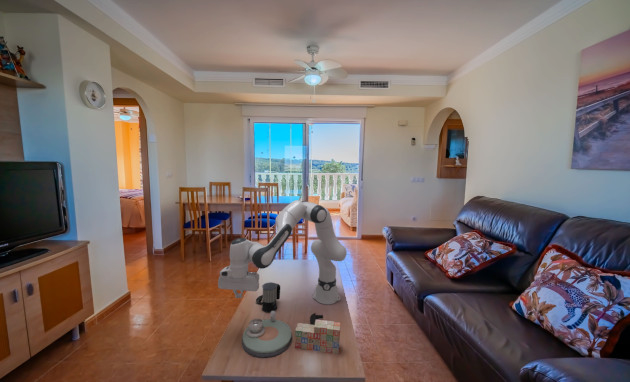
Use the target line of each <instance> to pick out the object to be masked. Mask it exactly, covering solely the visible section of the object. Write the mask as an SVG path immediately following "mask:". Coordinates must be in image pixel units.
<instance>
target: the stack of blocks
mask: <svg viewBox="0 0 630 382" xmlns="http://www.w3.org/2000/svg"><path fill="white" fill-rule="evenodd" d="M294 334H295V335H294V337H295V339H294V348H295V349H301V350H307V351H312V352H314V351H315V352H320V353H321V352H322V353H327V354H334V355H339V354H340V353H339V351H340V338H341V322H339V321H338V322H337V321H333V320H326V319H325V320H323V319H318V320H316V321H315V325H310V323H301V322H297V324H296V328H295V333H294Z"/></svg>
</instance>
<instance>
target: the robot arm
mask: <svg viewBox="0 0 630 382" xmlns="http://www.w3.org/2000/svg"><path fill="white" fill-rule="evenodd" d="M301 219H302V220H304V221H308V222H311V223H313V224H314V227H315V231H316V237H317V238H318V239H314V241H313V242H312V243H311V245H310V250H311V252H312V254H313V255H314V257H315V258H316V261H317V264H318V278H317V284H316V285H315V292H314V294H313V295H312V297H311V298H312V299H313V300H315V301H316V302H318V303H320V304H323V305H333V304H335V303H337V302H339V301H341V300H342V299H341V296H340V293H339V287H338V286H337V278H336V276H337V268H336V265H335V264H334V263H333V262H342V261H344V260H345V259H346V257H347V255H348V253H347V249H346V247H345V246H344V245H343V244H342V243H341V242H340V241H339V239H338V237H337V236H336V233H335V231H334V230H335V229H334V226H333V220H332V216H331V213H330V210H329V209H328V208H327V207H324V206H322V205H321V204H317V203H315V202H310V201H306V200H303V201H301V200H298V199H296V200H293V201H292V202H290V203H289V204H288V205H286V206H285V207H284V208H283V209H282V210H281V211H280V212H279V213H278V214H277V216H276V217H275V226H276V228H277V231H276V233H275V235H274V236H273V238H272V239H271V240H270V241H269V242H268V244H267V245H264V244H262V243H260V242H257V241H251V240H249V239H247V238H245V237H239V238H235V239H233V240H232V241H231V243H230V248H229V260H230V261H229V265H228V266H225V267H223V268H222V269H221V270H220V272H219V276H218V280H217V288H219V289H220V290H232V292H233V293H234V295H235V296H234V298H235V299H242V298H243V293H244V292H257V291H258V290H259V289H260V275H259V273H258V272H257V271H249V263H252V264H253V265H254V266H255V267H256V268H258V269H266V268H269V266H271V265H272V264H273V261H274V260H275V257H276V255H277V254H278V252H279V251H280V250H281V248H282V247H283V245H284V244H285V243H286V242H287V241H288V239H289V238H290V236H291V234H292V233H293V229H294V228H295V226H296V225H297V224H298V223H299V222H300V221H301ZM332 261H333V262H332ZM238 291H239V292H240V293H239V292H238Z"/></svg>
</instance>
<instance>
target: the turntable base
mask: <svg viewBox="0 0 630 382" xmlns="http://www.w3.org/2000/svg"><path fill="white" fill-rule="evenodd" d="M292 343H293V332H292V331H291V339H290V341H289V343H288V344H287V345H286V346H285V347H284V348H282V349H280V350H278V351H276V352H272V353H256V352H253V351H250V350H249V349H247V348H246V347H245V345H244V343H243V336H242V337H241V347H242V349H243V351H244V352H245V353H246V354H247V355H249V356H251V357H255V358H259V359H267V358H274V357H276V356H279V355H281V354H283V353H285V352H286V351H287V350H288V349H289V348H290V346H291V345H292Z"/></svg>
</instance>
